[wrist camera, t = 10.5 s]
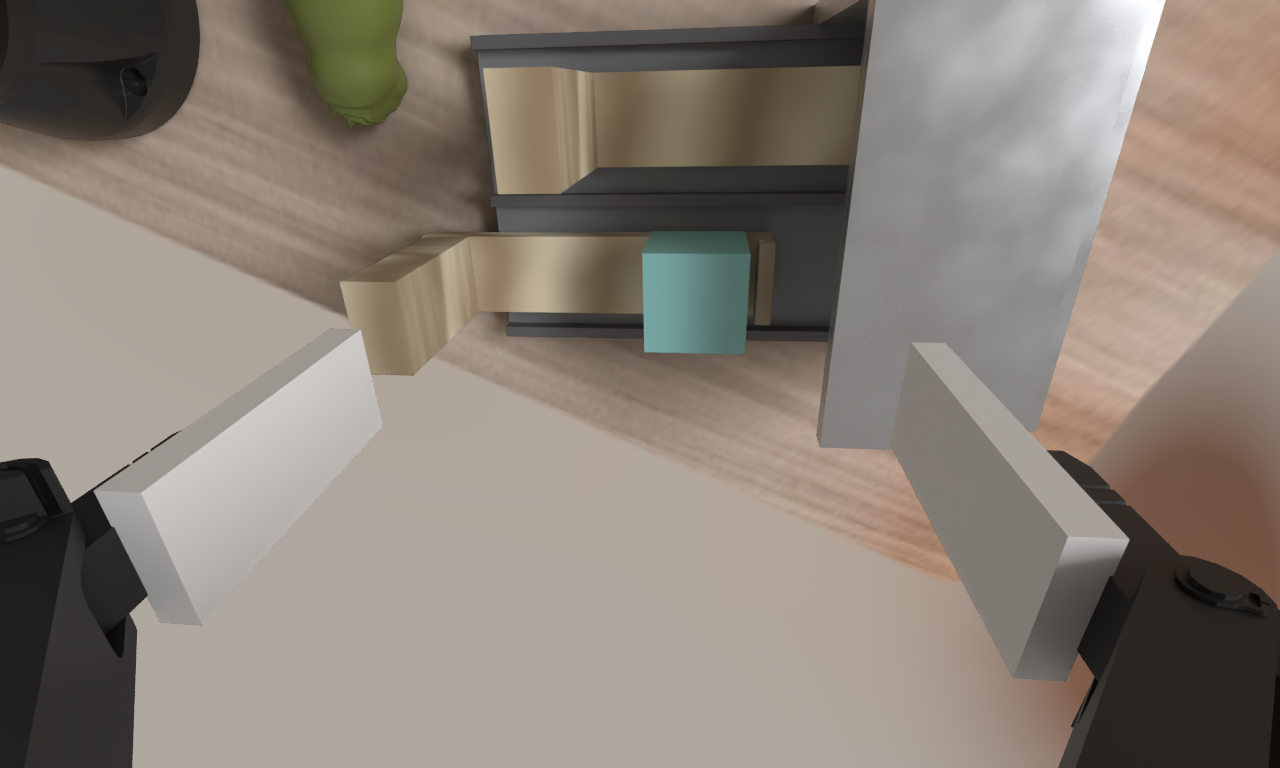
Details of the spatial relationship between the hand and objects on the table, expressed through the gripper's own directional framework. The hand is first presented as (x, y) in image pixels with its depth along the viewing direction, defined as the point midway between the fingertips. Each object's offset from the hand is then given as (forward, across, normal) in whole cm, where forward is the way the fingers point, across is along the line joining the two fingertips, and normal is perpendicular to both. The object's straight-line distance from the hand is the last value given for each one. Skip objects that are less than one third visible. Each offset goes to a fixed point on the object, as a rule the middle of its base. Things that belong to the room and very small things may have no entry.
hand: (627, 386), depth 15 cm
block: (+20, +2, -3) cm, 20 cm away
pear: (+23, -16, +10) cm, 30 cm away
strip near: (+21, +3, +5) cm, 22 cm away
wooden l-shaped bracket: (+21, -4, -3) cm, 22 cm away
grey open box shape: (+22, +12, +1) cm, 25 cm away
